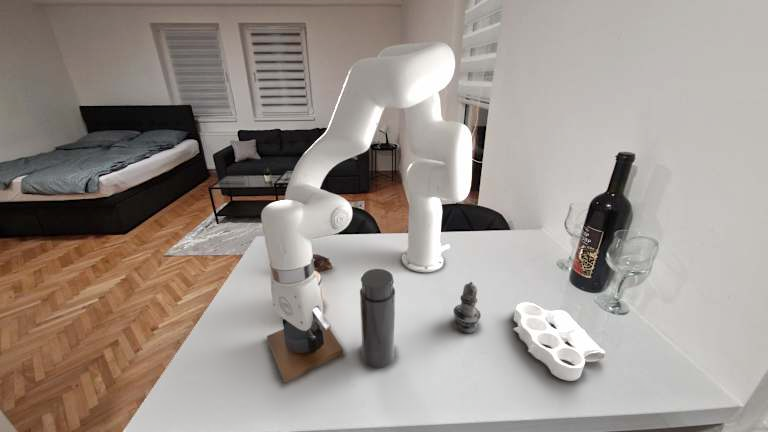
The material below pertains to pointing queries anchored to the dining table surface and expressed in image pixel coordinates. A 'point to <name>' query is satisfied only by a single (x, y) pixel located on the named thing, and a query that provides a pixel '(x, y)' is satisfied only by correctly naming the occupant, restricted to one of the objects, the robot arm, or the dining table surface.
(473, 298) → the dark stone figurine
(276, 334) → the coaster
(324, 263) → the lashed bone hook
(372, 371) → the dining table surface
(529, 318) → the white brass knuckles
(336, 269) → the dining table surface
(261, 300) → the dining table surface
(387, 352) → the thermos
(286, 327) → the thermos lid
